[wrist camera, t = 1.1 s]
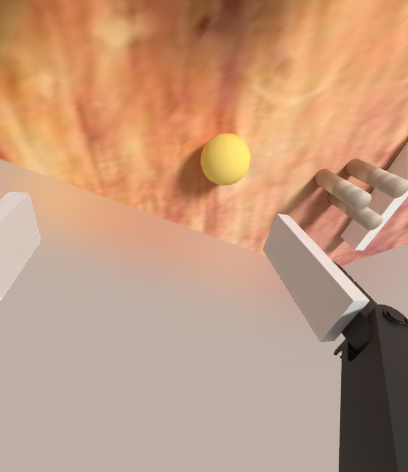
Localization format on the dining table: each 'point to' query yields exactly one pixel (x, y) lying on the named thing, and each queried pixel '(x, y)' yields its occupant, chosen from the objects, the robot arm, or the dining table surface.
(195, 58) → the dining table surface
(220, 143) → the ball
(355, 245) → the wall
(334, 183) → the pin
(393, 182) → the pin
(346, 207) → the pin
